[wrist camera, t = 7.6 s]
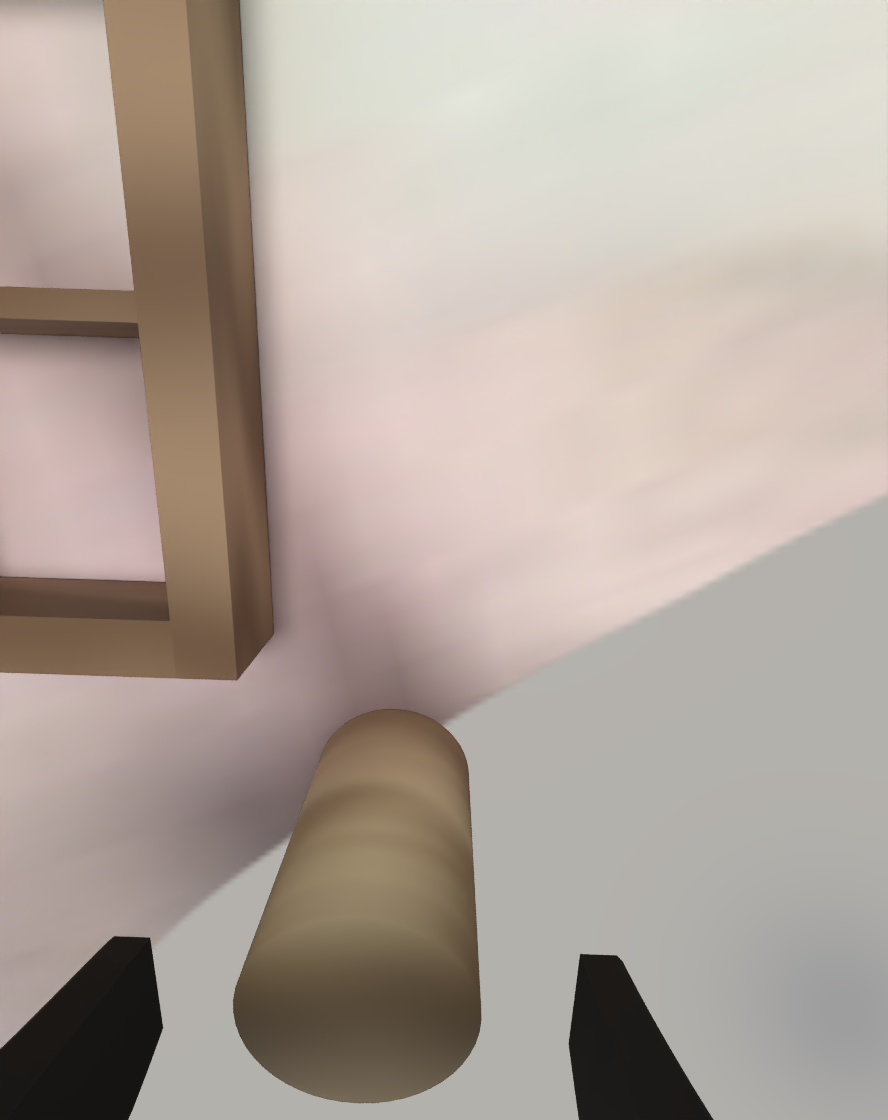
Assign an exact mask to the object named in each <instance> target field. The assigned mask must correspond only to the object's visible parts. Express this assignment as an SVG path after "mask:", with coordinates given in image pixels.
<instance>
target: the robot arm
mask: <svg viewBox="0 0 888 1120" xmlns="http://www.w3.org/2000/svg"><path fill="white" fill-rule="evenodd" d="M162 1029H163V1024H162V1017H161V1010H160V1003H159V996H158V989H157V982H156V975H155V968H154V961H153V954H152V947H151V940H150V938H145V937H119V936H114V937H113V938H112V939H110V940H109V941H108V942H107V943H106V944H105V945H104V946H103V947H102V948H101V949H100V950H99V951H98V952H97V953H96V954H95V955H94V956H93V957H92V958H91V959H90V960H89V961H88V962H87V963H86V964H85V965H84V966H83V967H82V968H81V969H80V970H79V971H78V972H77V973H76V974H75V975H74V976H73V977H72V978H71V979H70V980H69V981H68V982H67V983H66V984H65V985H64V986H63V987H62V988H61V989H60V990H59V991H58V992H57V993H56V994H55V995H54V996H53V997H52V998H51V999H50V1000H49V1001H48V1002H47V1003H46V1004H45V1005H44V1006H43V1007H42V1008H41V1009H40V1010H39V1011H38V1012H37V1013H36V1014H35V1015H34V1016H33V1017H32V1018H31V1019H30V1020H29V1021H28V1022H27V1023H26V1024H25V1025H24V1026H23V1027H22V1028H21V1029H20V1030H19V1031H18V1032H17V1033H16V1034H15V1035H14V1036H13V1037H12V1038H11V1039H10V1040H9V1041H8V1042H7V1043H6V1044H5V1045H4V1046H3V1047H2V1048H1V1049H0V1120H128V1118H129V1116H130V1114H131V1112H132V1110H133V1107H134V1104H135V1102H136V1099H137V1097H138V1094H139V1092H140V1089H141V1086H142V1084H143V1081H144V1078H145V1076H146V1073H147V1071H148V1068H149V1065H150V1063H151V1060H152V1057H153V1054H154V1051H155V1049H156V1046H157V1043H158V1040H159V1038H160V1035H161V1032H162ZM569 1050H570V1057H571V1065H572V1072H573V1080H574V1087H575V1094H576V1101H577V1108H578V1116H579V1120H713V1118H712V1117H711V1115H710V1113H709V1112H708V1110H707V1109H706V1107H705V1105H704V1104H703V1102H702V1101H701V1099H700V1097H699V1096H698V1094H697V1093H696V1091H695V1089H694V1088H693V1086H692V1085H691V1083H690V1081H689V1080H688V1078H687V1076H686V1074H685V1073H684V1071H683V1069H682V1068H681V1066H680V1064H679V1063H678V1061H677V1059H676V1058H675V1056H674V1054H673V1053H672V1051H671V1049H670V1047H669V1046H668V1044H667V1042H666V1040H665V1039H664V1037H663V1035H662V1034H661V1032H660V1030H659V1028H658V1027H657V1025H656V1023H655V1021H654V1019H653V1018H652V1016H651V1014H650V1012H649V1010H648V1009H647V1007H646V1005H645V1003H644V1002H643V999H642V998H641V996H640V994H639V992H638V991H637V988H636V986H635V985H634V983H633V981H632V979H631V977H630V975H629V973H628V971H627V969H626V967H625V965H624V963H623V962H622V960H620V958H619V957H618V956H614V955H589V954H580V960H579V967H578V976H577V983H576V991H575V1000H574V1006H573V1014H572V1022H571V1030H570V1038H569Z"/></svg>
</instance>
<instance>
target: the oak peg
mask: <svg viewBox="0 0 888 1120" xmlns="http://www.w3.org/2000/svg"><path fill="white" fill-rule="evenodd" d="M470 810H471V809H470V791H469V772H468V765H467V760H466V758H465V755H464V752H463V750H462V748H461V746H460V745H459V743H458V742H457V740H456V739H455V738H454V737H453V735H452V734H451V733H450V732H449V731H448V730H447V729H445V728H444V727H443V726H442V725H440V724H439V723H437V722H436V721H434V720H432V719H430V718H428V717H426V716H424V715H421V714H418V713H415V712H411V711H406V710H397V709H386V710H378V711H372V712H369V713H365V714H362V715H360V716H358V717H355V718H353V719H352V720H350V721H348V722H347V723H345V724H344V725H343V726H341V727H340V728H339V729H338V730H337V731H336V732H335V733H334V734H333V735H332V737H331V738H330V739H329V741H328V742H327V744H326V746H325V748H324V750H323V753H322V755H321V758H320V761H319V764H318V766H317V769H316V772H315V774H314V777H313V780H312V782H311V785H310V788H309V791H308V793H307V796H306V799H305V801H304V804H303V807H302V809H301V812H300V815H299V817H298V820H297V823H296V826H295V828H294V831H293V834H292V836H291V839H290V842H289V844H288V847H287V850H286V853H285V855H284V858H283V861H282V863H281V866H280V869H279V871H278V874H277V877H276V880H275V882H274V885H273V888H272V890H271V893H270V896H269V899H268V901H267V904H266V906H265V909H264V912H263V915H262V917H261V920H260V923H259V925H258V928H257V931H256V933H255V936H254V939H253V941H252V944H251V947H250V950H249V952H248V955H247V958H246V960H245V963H244V966H243V968H242V971H241V974H240V977H239V980H238V982H237V985H236V988H235V993H234V999H233V1013H234V1018H235V1023H236V1027H237V1029H238V1032H239V1035H240V1037H241V1039H242V1041H243V1042H244V1044H245V1046H246V1048H247V1049H248V1050H249V1052H250V1053H251V1054H252V1056H253V1057H254V1058H255V1059H256V1060H257V1061H258V1062H259V1063H260V1064H261V1065H262V1066H263V1067H264V1068H265V1069H266V1070H267V1071H269V1072H270V1073H271V1074H272V1075H274V1076H275V1077H277V1078H278V1079H280V1080H281V1081H283V1082H285V1083H286V1084H288V1085H290V1086H292V1087H294V1088H296V1089H298V1090H301V1091H303V1092H306V1093H308V1094H311V1095H314V1096H318V1097H321V1098H325V1099H329V1100H335V1101H341V1102H350V1103H379V1102H388V1101H393V1100H398V1099H403V1098H406V1097H410V1096H413V1095H416V1094H419V1093H421V1092H423V1091H426V1090H428V1089H430V1088H432V1087H434V1086H435V1085H437V1084H439V1083H441V1082H442V1081H444V1080H445V1079H446V1078H448V1077H449V1076H450V1075H452V1074H453V1073H454V1072H455V1071H456V1070H457V1069H458V1068H459V1067H460V1066H461V1065H462V1064H463V1063H464V1061H465V1060H466V1059H467V1057H468V1056H469V1055H470V1053H471V1051H472V1049H473V1047H474V1045H475V1044H476V1041H477V1038H478V1035H479V1032H480V1025H481V999H480V981H479V961H478V942H477V925H476V924H477V923H476V904H475V886H474V867H473V849H472V828H471V811H470Z"/></svg>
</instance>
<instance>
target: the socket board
mask: <svg viewBox="0 0 888 1120" xmlns="http://www.w3.org/2000/svg"><path fill="white" fill-rule="evenodd" d="M103 5H104V14H105V24H106V33H107V42H108V51H109V61H110V70H111V79H112V88H113V98H114V107H115V116H116V125H117V135H118V144H119V153H120V162H121V172H122V181H123V190H124V199H125V209H126V218H127V227H128V236H129V246H130V255H131V264H132V273H133V283H134V291H120V290H90V289H60V288H29V287H0V334H31V335H61V336H91V337H122V338H140V347H141V357H142V366H143V375H144V384H145V394H146V403H147V412H148V421H149V431H150V440H151V449H152V458H153V468H154V477H155V486H156V495H157V505H158V514H159V523H160V532H161V542H162V551H163V560H164V569H165V579H166V582H138V581H108V580H78V579H48V578H18V577H0V672H3V673H33V674H63V675H93V676H123V677H153V678H183V679H213V680H238V679H239V677H240V676H241V675H242V674H243V672H244V671H245V670H246V669H247V667H248V666H249V665H250V663H251V662H252V661H253V660H254V658H255V657H256V656H257V655H258V653H259V652H260V651H261V649H262V648H263V647H264V646H265V644H266V643H267V642H268V641H269V639H270V638H271V637H272V635H273V634H274V632H273V614H272V595H271V577H270V559H269V541H268V522H267V504H266V486H265V467H264V449H263V431H262V413H261V394H260V376H259V358H258V340H257V321H256V303H255V285H254V266H253V248H252V230H251V212H250V193H249V175H248V157H247V139H246V120H245V102H244V84H243V65H242V47H241V29H240V11H239V0H103Z"/></svg>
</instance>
